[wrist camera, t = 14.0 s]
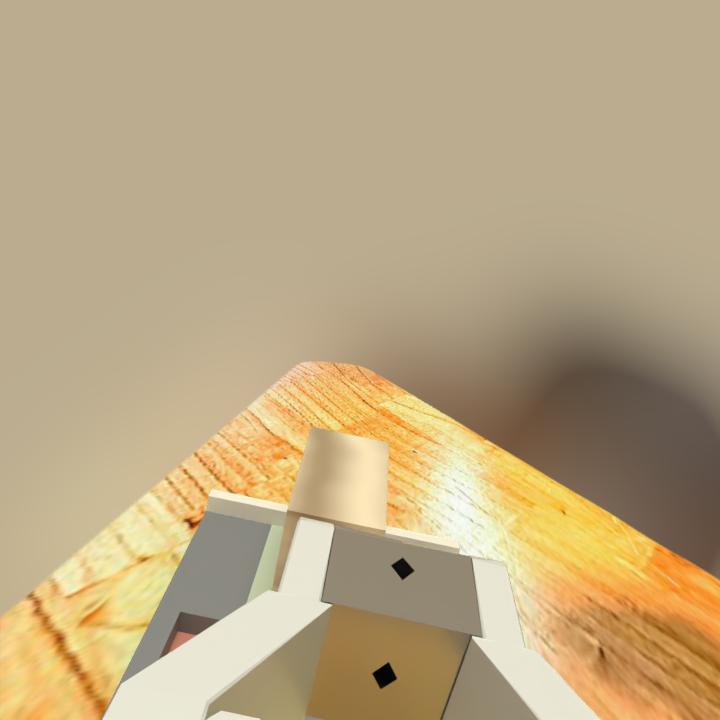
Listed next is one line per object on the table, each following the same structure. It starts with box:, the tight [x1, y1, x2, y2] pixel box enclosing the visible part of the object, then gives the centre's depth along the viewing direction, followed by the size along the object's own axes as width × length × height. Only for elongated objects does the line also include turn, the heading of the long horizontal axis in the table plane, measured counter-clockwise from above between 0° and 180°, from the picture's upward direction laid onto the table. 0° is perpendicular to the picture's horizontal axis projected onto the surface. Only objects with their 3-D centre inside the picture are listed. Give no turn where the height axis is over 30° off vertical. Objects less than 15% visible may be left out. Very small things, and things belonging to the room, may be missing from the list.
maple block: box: [272, 427, 389, 592], centre depth 44 cm, size 6×11×10 cm, turn 177°
